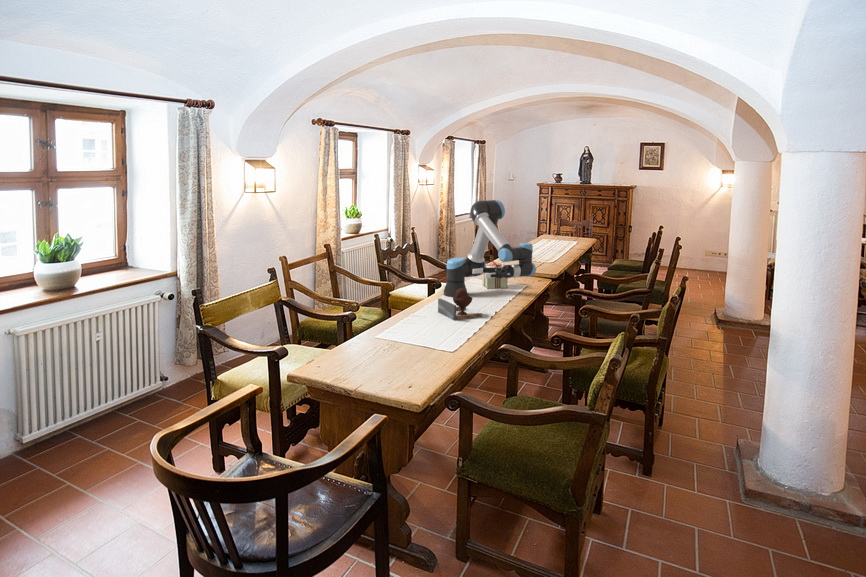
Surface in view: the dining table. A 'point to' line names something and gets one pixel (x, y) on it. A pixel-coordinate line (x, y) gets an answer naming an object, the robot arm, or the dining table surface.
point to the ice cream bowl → (462, 300)
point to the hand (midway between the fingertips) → (478, 273)
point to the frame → (453, 311)
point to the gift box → (494, 282)
